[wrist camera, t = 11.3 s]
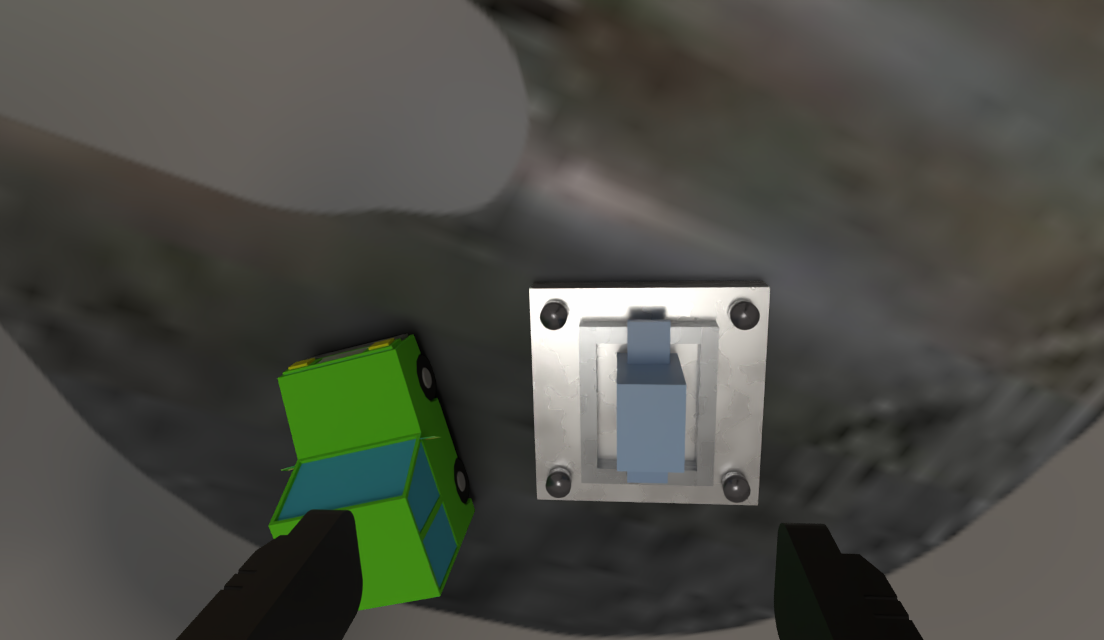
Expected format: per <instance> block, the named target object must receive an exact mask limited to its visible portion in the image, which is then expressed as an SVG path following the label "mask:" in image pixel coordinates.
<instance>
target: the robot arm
mask: <svg viewBox="0 0 1104 640" xmlns="http://www.w3.org/2000/svg"><path fill="white" fill-rule="evenodd" d="M362 591H363V577H362V569H361V562H360V554H359V547H358V539H357V531H356V524H355V519H354V516H353V514H352V512H351V511H349V510H323V509H312V510H309V511H308V512H307V513H306V514H305V515H304V516H303V517H302V519H301V520H300V521H299V522H298V523H297V524H296V526H295V527H294V528H293V529H292V530H291V531H290V533H289V534H288V535H280V536H278V537H277V538H275V539H273V540H272V541H270V542H269V543H267V544H266V545H264V546H263V547H261V548H259V549H258V550H256V551H255V552H254V553H253V554H252V556H251V557H250V558H249V559H248V560H247V561H246V562H245V563H244V565H243V566H242V567H241V568H240V569H239V572H238V574H234V576H233V577H232V578H231V579H230V580H229V581H228V582H227V583H226V584H225V586H224V590H220V591H219V592H218V594H216V596H215V597H214V598H213V599H212V600H211V601H210V602H209V603H208V605H207V606H206V607H205V608H204V609H203V610H202V611H201V612H200V613H199V615H198V616H197V617H196V618H195V619H194V620H193V621H192V622H191V623H190V625H189V626H188V627H187V628H186V629H185V630H184V631H183V632H182V633H181V635H180V636H179V637H178V638H177V639H176V640H342V639H343V637H344V635H345V633H346V632H347V630H348V628H349V626H350V624H351V623H352V621H353V619H354V618H355V616H356V614H357V611H358V609H359V606H360V602H361V598H362ZM774 612H775V620H776V627H777V631H778V635H779V639H780V640H923V638H922V637H921V635H920V633H919V632H918V630H917V628H916V627H915V625H914V623H913V622H912V620H909V615H908V613H907V612H906V610H905V609H904V607H903V605H902V604H901V602H900V601H898V600H897V595H896V594H895V592H894V590H893V589H892V587H891V585H890V584H889V582H888V580H887V579H886V577H885V575H884V574H883V573H882V572H881V571H879V570H878V569H877V568H876V567H875V566H873V565H872V564H871V563H870V562H868V561H867V560H866V559H865V558H863V557H862V556H861V555H860V554H841V552H840V550H839V548H838V546H837V545H836V543H835V541H834V539H833V537H832V535H831V533H830V531H829V529H828V528H827V526H826V525H825V524H810V523H781V524H780V526H779V530H778V539H777V556H776V572H775V588H774Z"/></svg>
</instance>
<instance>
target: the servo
mask: <svg viewBox="0 0 1104 640" xmlns="http://www.w3.org/2000/svg"><path fill="white" fill-rule="evenodd" d="M670 329H671V321H670V319H669V320H627V353H617V471H627V482H628V483H668V472H673V473H684V464H685V425H686V381H685V378H684V374H683V371H682V368H681V364H680V361H679V357H678V354H677V353H670Z"/></svg>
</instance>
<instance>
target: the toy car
mask: <svg viewBox="0 0 1104 640" xmlns="http://www.w3.org/2000/svg"><path fill="white" fill-rule="evenodd" d="M419 354H421V353H420V350H419V348H418V345H417V342H416V340H415V337H414V334H413V335H409V336H408V333H407V334H403V335H399V336H395V337H391V338H387V339H383V340H379V341H375V342H371V343H367V344H363V345H359V346H355V347H351V348H347V349H343V350H339V351H335V352H331V353H327V354H323V355H319V356H315V357H310V358H306V359H304V360H302V361H299V362H296V363H294V364H293V365H291V366H290V367H288V369H287V370H286V371H284V372H283V375H282V376H280V377H279V378H278V382H279V386H280V390H281V394H282V398H283V402H284V406H285V410H286V414H287V418H288V422H289V426H290V430H291V434H292V438H293V442H294V446H295V450H296V454H297V458H298V460H297V463H296V465H295V466H292V467H289V468H285V469H282V470H281V471H289V470H293V472H292V474H291V476H290V478H289V481H288V483H287V485H286V487H285V490H284V492H283V494H282V497H281V499H280V501H279V503H278V506H277V508H276V510H275V512H274V515H273V517H272V519H271V521H270V524H269V528H270V531H271V533H272V535H273V538H274V539H275V538H277V537H278V536H280V535H288V534H289V533H290V531H291V530H292V529H293V528H294V527H295V526H296V524H297V523H298V522H299V521H300V520H301V519H302V517H303V516H304V515H305V514H306V513H307V512H308V511H309V510H312V509H323V510H349V511H351V512H352V514H353V516H354V519H355V524H356V531H357V539H358V547H359V554H360V562H361V569H362V577H363V591H362V598H361V602H360V606H359V609H358V610H364V609H370V608H375V607H381V606H387V605H392V604H398V603H404V602H409V601H415V600H421V599H426V598H432V597H438V596H441V593H442V591H443V588H444V586H445V583H446V581H447V578H448V576H449V573H450V571H451V568H452V566H453V563H454V561H455V559H456V556H457V554H458V551H459V549H460V546H461V544H462V541H463V539H464V536H465V534H466V531H467V529H468V526H469V524H470V522H471V519H472V517H473V514H474V512H475V509H474V506H473V503H472V500H471V498H469V499H468V496H469V481H468V477H467V473H466V470H465V467H464V465H463V463H462V461H460V460H459V459H458V458H457V454H456V451H455V448H454V445H453V442H452V439H451V436H450V433H449V430H448V427H447V424H446V421H445V418H444V415H443V412H442V409H441V406H440V403H439V401H438V398H434V397H435V394H436V381H435V377H434V373H433V370H432V367H431V365H430V362H429V360H428V359H427V358H426V357H425V356H424V355H423V356H419ZM456 458H457V459H456Z"/></svg>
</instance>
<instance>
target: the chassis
mask: <svg viewBox="0 0 1104 640" xmlns="http://www.w3.org/2000/svg"><path fill="white" fill-rule="evenodd" d="M529 291H530V318H531V345H532V371H533V398H534V425H535V452H536V479H537V499H547V500H584V501H620V502H657V503H693V504H730V505H758V492H759V475H760V457H761V439H762V422H763V404H764V387H765V369H766V351H767V334H768V316H769V299H770V287H769V286H768V285H767V284H766V283H765V282H764V281H651V282H534V283H533V284H532V286H531V287H530V289H529ZM669 319H670V321H671V329H670V353H677V354H678V357H679V361H680V364H681V368H682V371H683V374H684V378H685V381H686V425H685V464H684V473H673V472H668V483H628V482H627V471H617V353H627V320H669Z"/></svg>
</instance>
